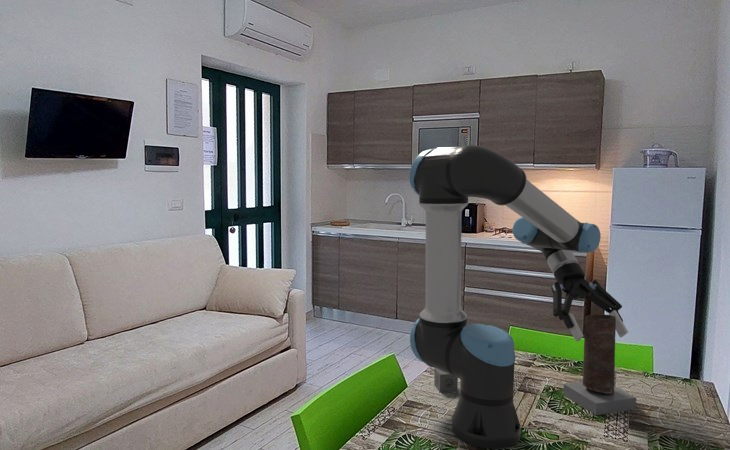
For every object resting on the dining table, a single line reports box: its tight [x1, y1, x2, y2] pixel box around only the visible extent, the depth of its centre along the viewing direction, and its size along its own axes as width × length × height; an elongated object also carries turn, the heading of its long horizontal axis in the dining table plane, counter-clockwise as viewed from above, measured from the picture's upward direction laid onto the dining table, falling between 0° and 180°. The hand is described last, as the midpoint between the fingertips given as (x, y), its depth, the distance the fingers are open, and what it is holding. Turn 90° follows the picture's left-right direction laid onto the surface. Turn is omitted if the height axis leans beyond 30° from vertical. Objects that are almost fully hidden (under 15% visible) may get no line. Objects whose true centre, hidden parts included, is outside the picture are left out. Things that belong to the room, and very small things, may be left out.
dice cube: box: [433, 368, 459, 393], centre depth 134 cm, size 5×5×5 cm
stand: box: [562, 381, 637, 416], centre depth 125 cm, size 12×12×3 cm
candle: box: [582, 312, 617, 394], centre depth 124 cm, size 8×7×20 cm
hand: (602, 337), depth 124 cm, fingers open, 13 cm apart
